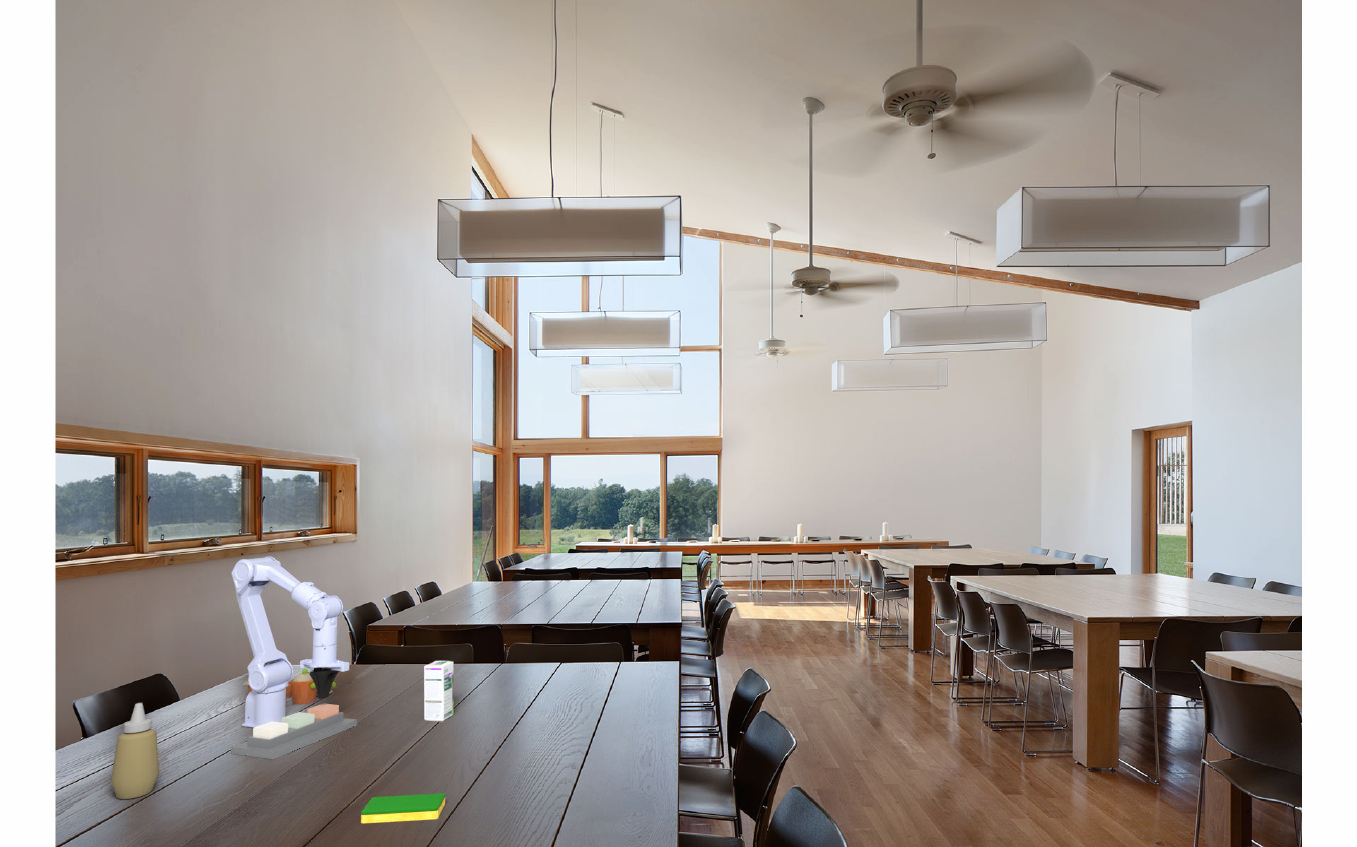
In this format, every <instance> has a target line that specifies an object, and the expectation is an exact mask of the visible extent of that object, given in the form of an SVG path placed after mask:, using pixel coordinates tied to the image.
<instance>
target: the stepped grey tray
mask: <svg viewBox="0 0 1357 847" xmlns="http://www.w3.org/2000/svg"><path fill="white" fill-rule="evenodd" d="M353 726H354V727H357V726H358V719H356V718H345V717H344V711H342V712H341V711H339V714H336V715H333V716H330V717H328V718H325V719H316V718H314V723H312V724H309V725H306V726H304V727H301V728H298V729H295V728H288V733H285V734H282V735H279V736H277V737H274V738H271V739H264V738H256V737H253V734H252V735H250V736H248V737H247V740H246V741H244V742H241V743H238V744H235V745H233V746H230V748H231V749H230V754H231V755H232V754H233V755H240V756H245V755H247V756H246V757H252V758H253V757H254V758H261V759H267V760H268V759H269V760H275V759H278V758H281V757H283V756H286V755H288V754H290V753H293V752H295V751H297V749H298V750H300V749H302V748H305V747H307V746H310V745H312V744H315V743H317V742H320V741H322V740H325V739H328V738H330V737H332V736H335V735H337V734H340V733H341V732H345V731H347V730H349V728H350V729H351V728H354V727H353ZM319 740H320V741H319ZM299 748H300V749H299ZM294 750H295V751H294ZM292 751H293V752H292Z"/></svg>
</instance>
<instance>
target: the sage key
mask: <svg viewBox="0 0 1357 847" xmlns="http://www.w3.org/2000/svg"><path fill="white" fill-rule="evenodd" d="M314 716H315V714H311V713H307V712H301V711H298V712H295V713H292V714H289V715H285V717H283V718H281V723H288V728H295V729H298V728H301V727H304V726H306V725H309V724H312V723H314Z"/></svg>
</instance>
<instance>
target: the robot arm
mask: <svg viewBox="0 0 1357 847" xmlns="http://www.w3.org/2000/svg"><path fill="white" fill-rule="evenodd" d="M231 578H232V581H233V584H234V588H235V597H236V600H237V603H238V607H239V611H240V615H241V617H242V620H243V624H244V627H245V631H246V634H247V637H248V638H247V639H248V640H249V644H250V648H251V651H252V655H253V658H252V660H251V661H250V662H249V664H248V666H247V668H246V669H247V671H248V678H247V680H248V682H249V685H250V687H251V689H252V691H251V692H250V693H249V692H248V693H247V694H248V695H247V696H246V698H245V708H244V722H243V723H242V724H241V727H246V728H254V727H257V726H260V725H263V724H266V723H269V722H272V721H273V722H281V718H283V717H286V705H287V704H286V701H287V697H286V687H287V686H288V682H290V681H291V680H293V678H294V667H293V665H292V663H291V662H290V661H289V660H288V657H287V654H286V653H284V652H283V651H280V650H279V649H278V648H277V646H276V643H275V639H274V636H273V633H272V629H271V626H270V622H269V620H268V616H267V614H266V608H265V606H264V603H263V599H262V597H261V594H262V592H263V590H265V589H266V588H267V586H268V585H269V584H270V583H274V584H276V585H277V586H279V587H280V588H282V589H284V590H285V591H287V592H288V593H290V594H291V595H290V596H291V597H290V598H291V600H292V601H294V603H296V604H297V605H299V606H300V607H301V608H303V609H304V610H306V611H307V614H308V617H309V619H310V620H311V626H312V658H311V659H310V658H309V659H308V658H307V659H302V660H300V661H299V669H312V671H310V672H309V673H310V676H311V678H312V679H313V681H314V684H315V686H316V690H317V693H318V696H317V697H318V699H319V700H324V699H327V698H329V696H330V694H331V693H330V690H331V689H332V687H331V686H332V684H333V682H335V679H336V677H337V675H338V673H339V672H341V673H342V672H343V673H344V672H347V671H350V662H348V661H343V660H340V659H337V656H338V652H337V651H338V617H339V616H341V615H342V612H343V608H344V606H343V602H342V600H341V599H340V597H338V596H337V595H328V594H327V593H326V592H325V591H322V590H320V589H319V588H317V587H316V586H314V585H315V583H313V581H309V582H308V581H304V582H301V581H300V580H299V579H298V578H296V577H295V576H294V575H293V574H291V573H290V572H289V571H288V570H286V569H285V568H284V567H282V563H281V561H279V560H277V559H276V558H275V557H273V556H265V557H257V558H249V559H248V558H247V559H246V558H245V559H244V558H242V559H239V560H238V561H237V562H236V564H235V565H234V567H233V569H232V571H231ZM329 693H330V694H329Z"/></svg>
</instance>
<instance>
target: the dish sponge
mask: <svg viewBox="0 0 1357 847" xmlns="http://www.w3.org/2000/svg"><path fill="white" fill-rule="evenodd" d="M445 806H446V793H443V792H442V793H428V794H427V793H426V794H411V795H410V794H407V795H406V794H405V795H393V796H392V795H390V796H389V795H388V796H375V797H374V796H372V797H371V799H370V800H369V801H368V803H367V804H366V805H365V806H364V808H363V809H362V810H361V812H360V813H361V815H360V823H361V824H373V823H374V824H376V823H391V822H392V823H393V822H410V821H427V820H438V819H439V817H440V815H441V814H442V811H443V809H444V807H445Z"/></svg>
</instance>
